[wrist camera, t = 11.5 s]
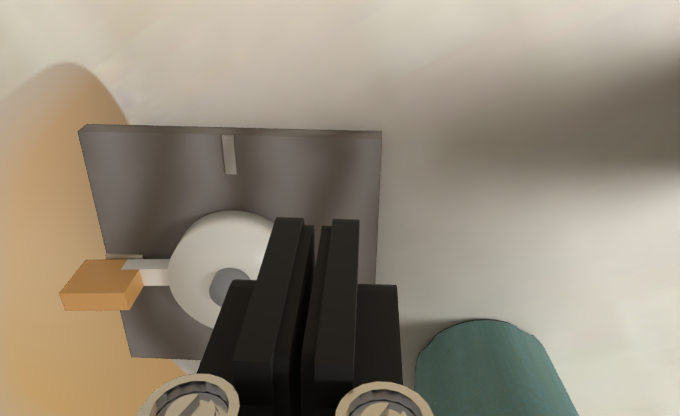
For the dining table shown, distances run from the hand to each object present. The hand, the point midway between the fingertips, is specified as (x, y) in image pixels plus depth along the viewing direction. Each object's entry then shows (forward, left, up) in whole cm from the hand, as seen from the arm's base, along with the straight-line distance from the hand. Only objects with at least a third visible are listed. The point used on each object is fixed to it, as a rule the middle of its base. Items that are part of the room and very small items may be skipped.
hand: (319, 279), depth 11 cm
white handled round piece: (+13, +19, -27) cm, 36 cm away
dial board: (+9, +19, -29) cm, 36 cm away
